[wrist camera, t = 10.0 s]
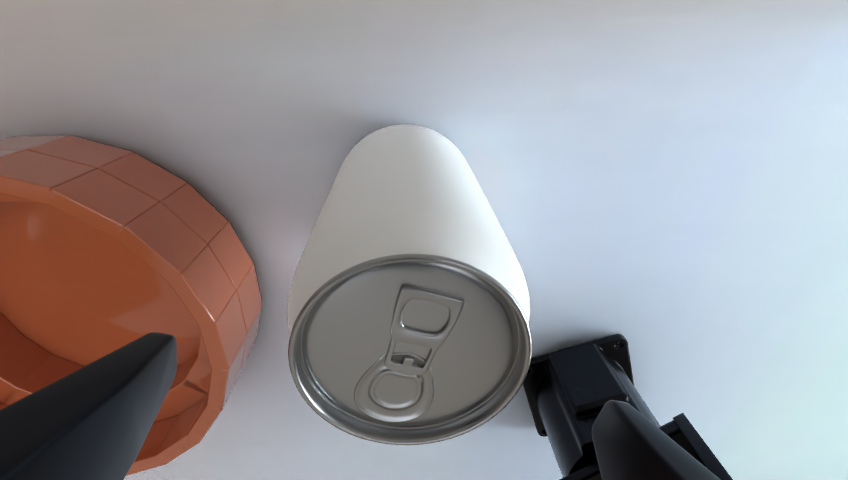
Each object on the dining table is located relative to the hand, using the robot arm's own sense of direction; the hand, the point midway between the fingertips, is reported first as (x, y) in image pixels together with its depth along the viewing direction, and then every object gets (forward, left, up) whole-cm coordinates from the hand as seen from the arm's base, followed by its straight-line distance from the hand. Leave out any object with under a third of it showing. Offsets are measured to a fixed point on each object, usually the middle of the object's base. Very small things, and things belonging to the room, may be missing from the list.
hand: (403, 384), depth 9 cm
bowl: (0, +16, -13) cm, 21 cm away
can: (0, 0, -13) cm, 13 cm away
